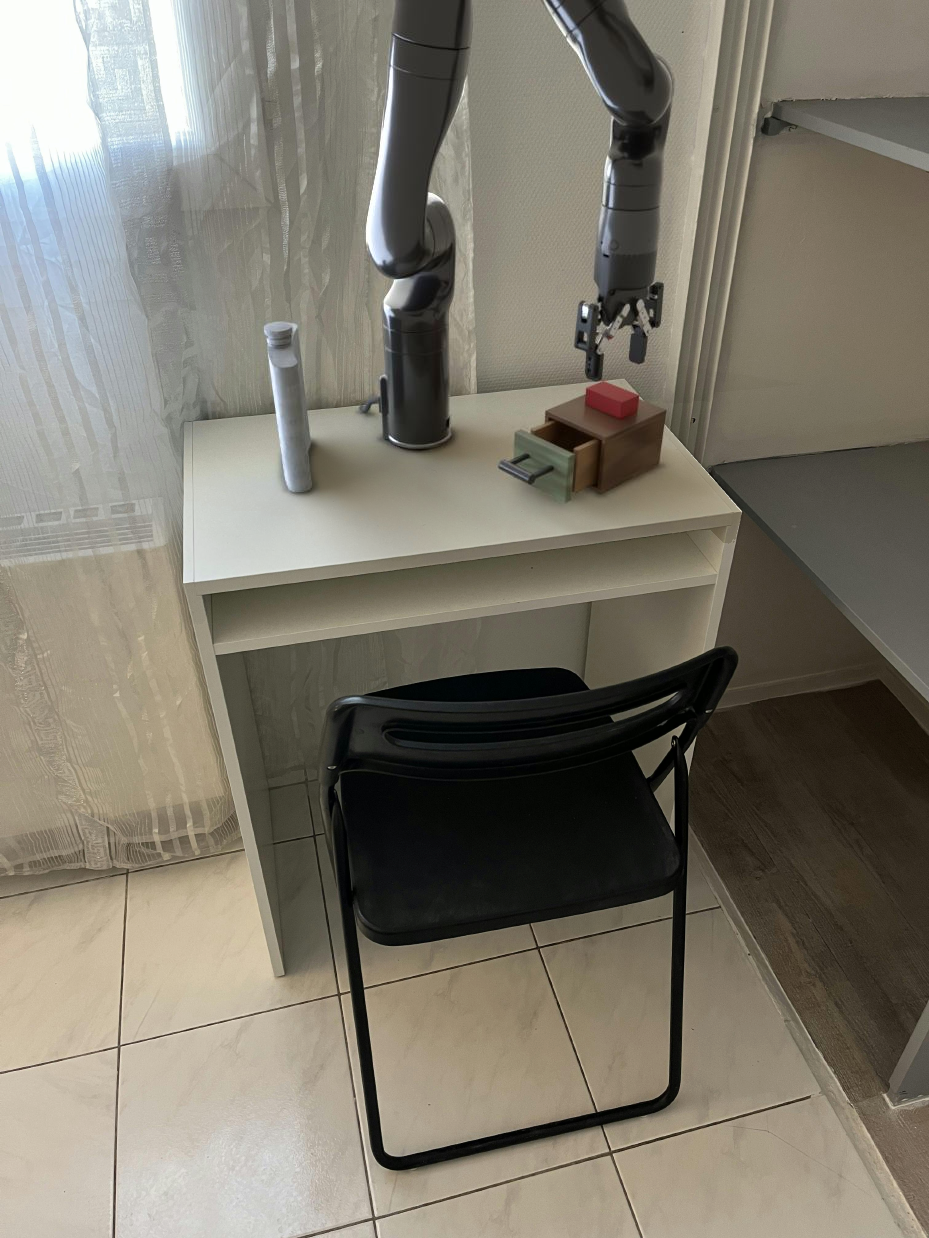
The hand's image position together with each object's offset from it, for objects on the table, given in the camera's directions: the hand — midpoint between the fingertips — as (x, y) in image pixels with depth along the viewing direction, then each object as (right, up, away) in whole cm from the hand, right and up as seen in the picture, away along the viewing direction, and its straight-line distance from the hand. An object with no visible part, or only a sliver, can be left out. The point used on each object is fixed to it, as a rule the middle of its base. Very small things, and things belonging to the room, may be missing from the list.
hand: (615, 370), depth 124 cm
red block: (0, -4, +3) cm, 5 cm away
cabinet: (-1, -11, +8) cm, 14 cm away
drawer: (-8, -14, +2) cm, 16 cm away
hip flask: (-44, -11, +8) cm, 46 cm away
